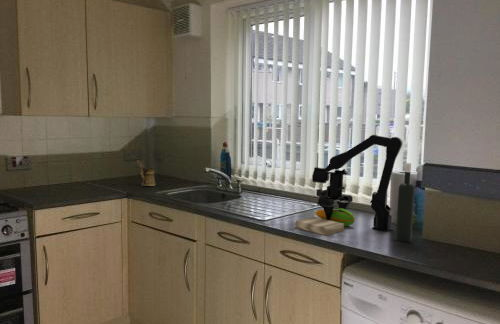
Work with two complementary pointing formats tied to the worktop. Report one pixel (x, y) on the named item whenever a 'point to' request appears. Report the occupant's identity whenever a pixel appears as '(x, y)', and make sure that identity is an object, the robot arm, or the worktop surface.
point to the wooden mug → (146, 175)
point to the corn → (338, 216)
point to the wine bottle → (405, 208)
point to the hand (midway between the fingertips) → (334, 219)
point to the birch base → (319, 225)
